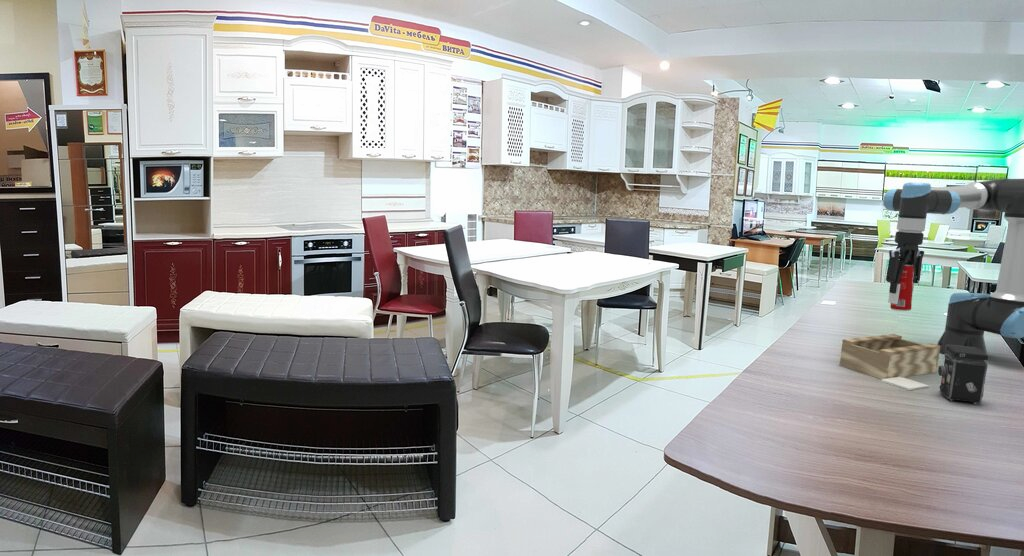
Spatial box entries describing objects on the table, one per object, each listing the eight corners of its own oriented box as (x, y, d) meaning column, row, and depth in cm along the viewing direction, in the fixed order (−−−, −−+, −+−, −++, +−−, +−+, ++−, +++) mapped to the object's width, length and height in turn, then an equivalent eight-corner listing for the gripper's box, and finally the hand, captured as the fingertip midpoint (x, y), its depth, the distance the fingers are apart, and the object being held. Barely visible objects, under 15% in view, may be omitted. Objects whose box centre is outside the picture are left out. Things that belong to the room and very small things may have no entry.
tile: (899, 378, 193) (900, 376, 193) (928, 387, 185) (928, 385, 185) (880, 381, 189) (881, 379, 189) (909, 390, 181) (909, 388, 181)
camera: (971, 394, 180) (979, 345, 177) (985, 406, 170) (994, 355, 167) (930, 389, 183) (938, 341, 181) (942, 400, 173) (950, 350, 171)
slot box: (890, 358, 216) (893, 334, 214) (936, 372, 201) (940, 345, 200) (839, 365, 205) (842, 339, 204) (884, 379, 191) (888, 352, 189)
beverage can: (913, 312, 193) (920, 266, 191) (891, 310, 194) (898, 264, 192) (906, 309, 199) (912, 263, 196) (884, 307, 200) (890, 262, 198)
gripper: (917, 230, 200) (907, 299, 203) (878, 230, 192) (868, 301, 196) (941, 232, 193) (930, 304, 196) (901, 232, 185) (890, 306, 189)
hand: (899, 302), depth 196 cm, fingers closed on beverage can, 6 cm apart
